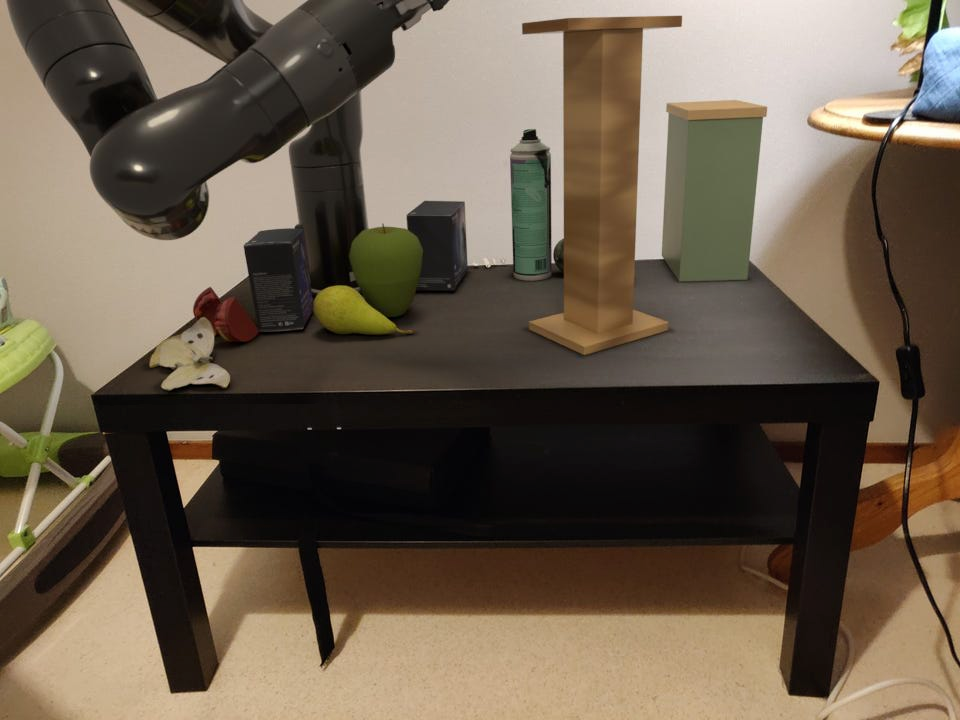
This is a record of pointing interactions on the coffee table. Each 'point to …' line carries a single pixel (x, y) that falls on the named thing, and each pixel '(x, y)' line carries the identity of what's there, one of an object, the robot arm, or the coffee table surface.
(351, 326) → the fruit
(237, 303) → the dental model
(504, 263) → the miniature set
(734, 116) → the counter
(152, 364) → the pale yellow butterfly wing
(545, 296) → the coffee table surface
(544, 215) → the spray can
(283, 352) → the coffee table surface
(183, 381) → the butterfly
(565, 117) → the stand
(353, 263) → the apple
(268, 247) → the box
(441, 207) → the small box
